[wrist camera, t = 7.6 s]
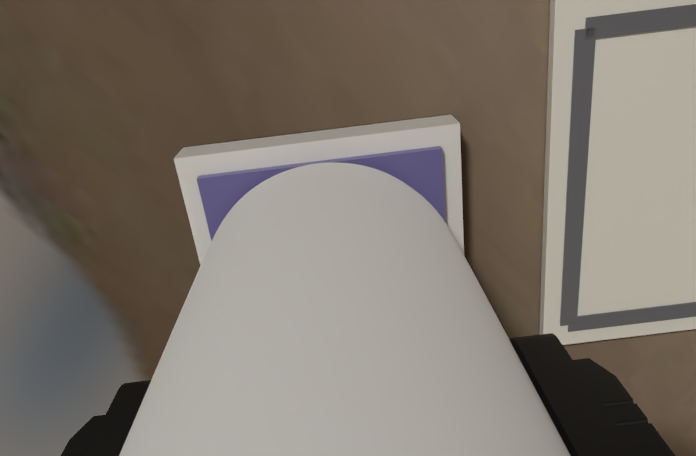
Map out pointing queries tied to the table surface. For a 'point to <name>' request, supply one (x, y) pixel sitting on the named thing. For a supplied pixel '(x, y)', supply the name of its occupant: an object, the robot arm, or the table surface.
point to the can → (338, 335)
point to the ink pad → (325, 147)
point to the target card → (619, 170)
